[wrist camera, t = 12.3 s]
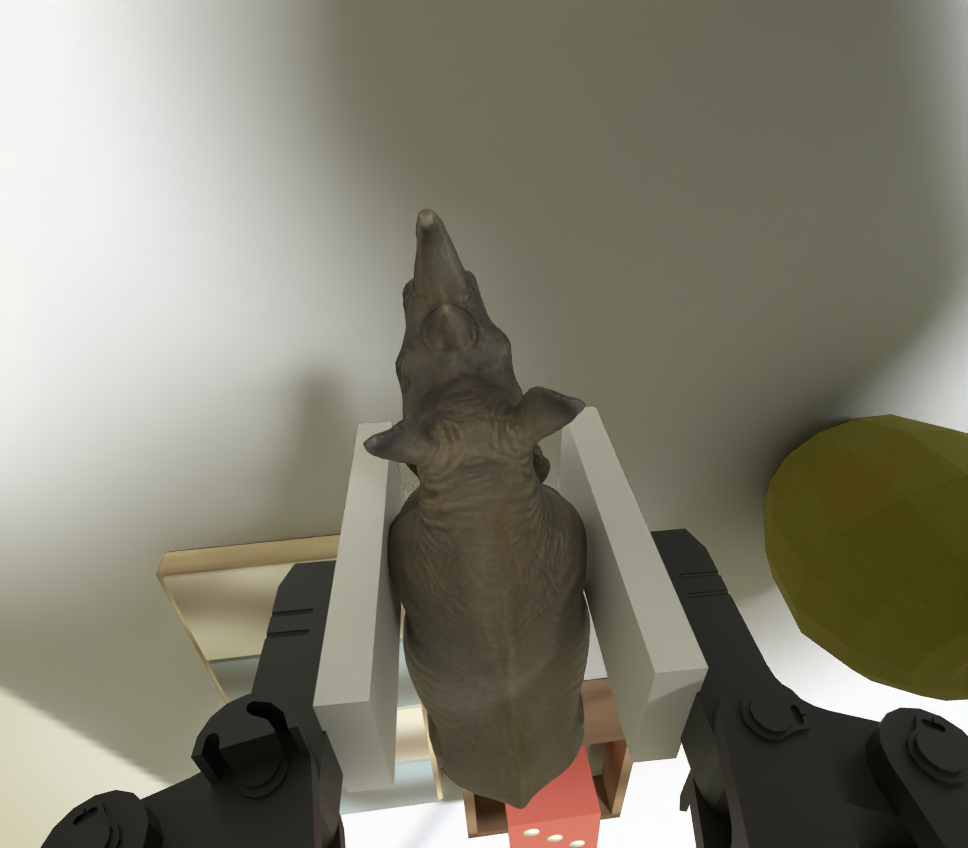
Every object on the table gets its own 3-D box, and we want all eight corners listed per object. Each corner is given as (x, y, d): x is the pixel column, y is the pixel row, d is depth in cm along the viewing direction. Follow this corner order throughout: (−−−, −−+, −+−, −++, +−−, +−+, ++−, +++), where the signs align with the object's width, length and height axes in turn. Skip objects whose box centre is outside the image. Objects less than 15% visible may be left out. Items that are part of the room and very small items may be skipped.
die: (496, 731, 34) (508, 827, 30) (578, 719, 34) (601, 813, 30) (500, 770, 37) (512, 862, 33) (575, 759, 37) (596, 849, 33)
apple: (680, 480, 25) (830, 728, 16) (884, 328, 22) (1214, 536, 13) (787, 571, 30) (950, 803, 21) (969, 456, 26) (1257, 676, 18)
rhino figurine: (554, 148, 10) (673, 266, 5) (560, 617, 18) (610, 836, 13) (326, 174, 10) (232, 317, 5) (432, 634, 18) (435, 860, 13)
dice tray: (454, 696, 33) (458, 756, 30) (621, 676, 34) (640, 732, 31) (464, 782, 40) (468, 838, 37) (605, 764, 40) (619, 816, 38)
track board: (166, 552, 24) (154, 578, 23) (400, 528, 25) (400, 552, 24) (292, 799, 38) (289, 823, 37) (441, 779, 39) (442, 801, 38)
